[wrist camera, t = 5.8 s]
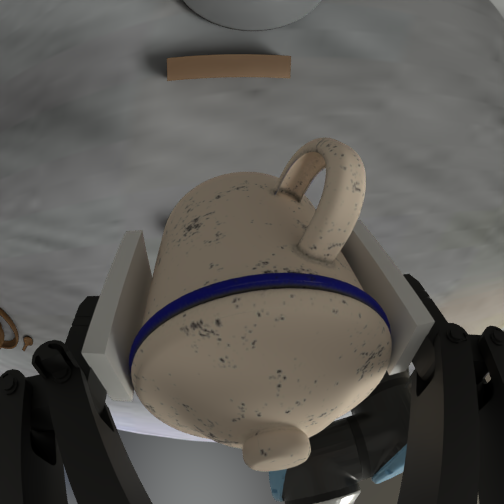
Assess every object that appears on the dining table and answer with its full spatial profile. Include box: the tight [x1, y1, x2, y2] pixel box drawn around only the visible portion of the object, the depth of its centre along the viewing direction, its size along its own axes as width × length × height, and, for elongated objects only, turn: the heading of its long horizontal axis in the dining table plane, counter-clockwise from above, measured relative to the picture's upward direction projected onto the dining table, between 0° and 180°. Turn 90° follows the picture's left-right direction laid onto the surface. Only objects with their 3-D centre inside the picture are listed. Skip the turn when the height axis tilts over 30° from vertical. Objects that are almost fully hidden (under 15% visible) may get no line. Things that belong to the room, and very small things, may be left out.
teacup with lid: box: [129, 138, 392, 471], centre depth 11 cm, size 12×9×12 cm
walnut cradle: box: [167, 54, 291, 81], centre depth 27 cm, size 19×10×3 cm, turn 179°
